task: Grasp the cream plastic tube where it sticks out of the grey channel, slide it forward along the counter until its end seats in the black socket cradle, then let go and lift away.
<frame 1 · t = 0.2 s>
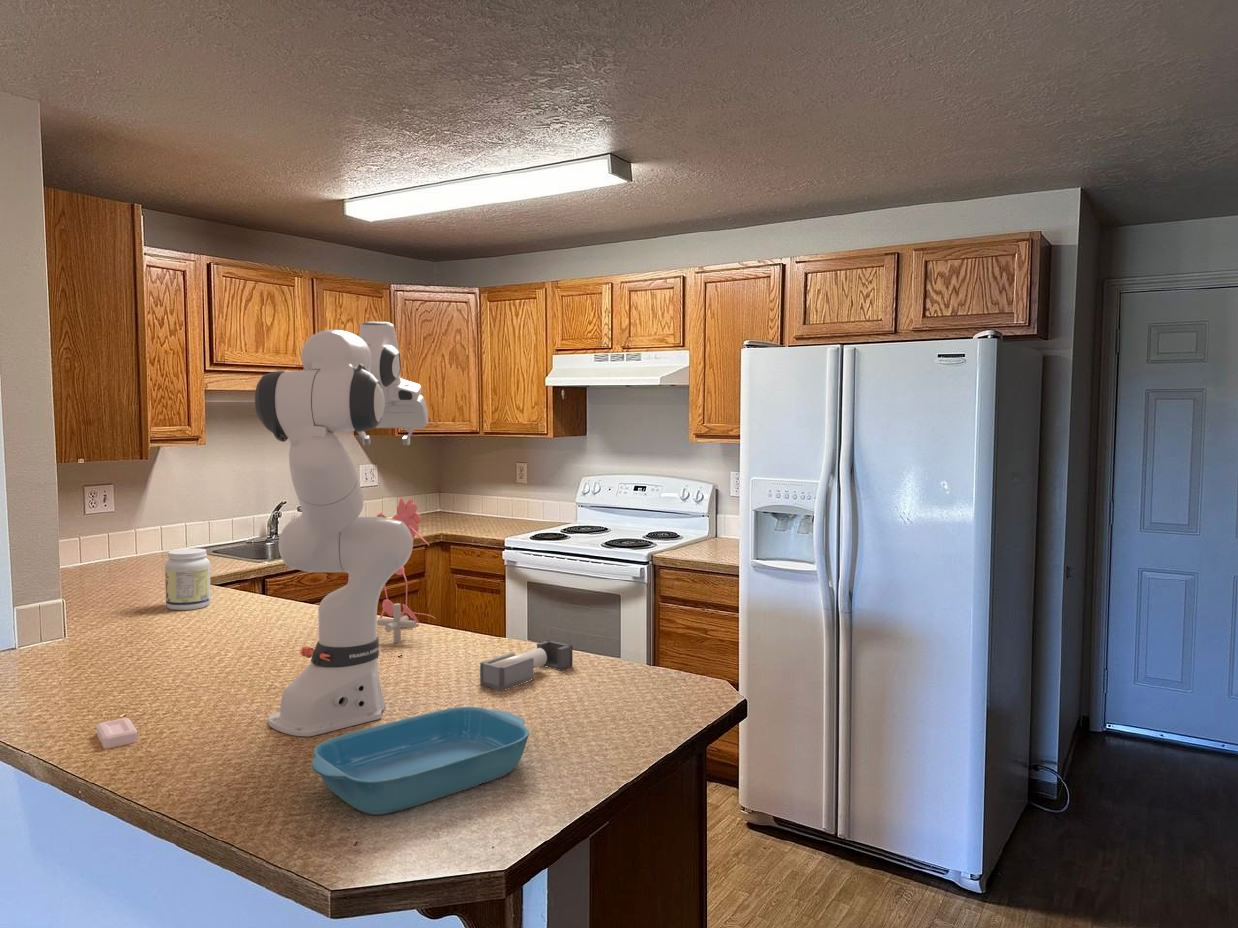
hand: (386, 444, 209), 52 cm above the counter, tool tilted 20°, fingers open, 8 cm apart
socket: (554, 665, 206), on the counter
pipe connector: (397, 643, 225), on the counter
soap bar: (117, 740, 160), on the counter
slip tube: (518, 664, 196), point 3 cm above the counter, slide at 0.0 cm
figurine: (408, 620, 248), on the counter
casserole dish: (425, 780, 144), on the counter
sleeve: (507, 682, 193), on the counter
supplement tub: (188, 606, 263), on the counter
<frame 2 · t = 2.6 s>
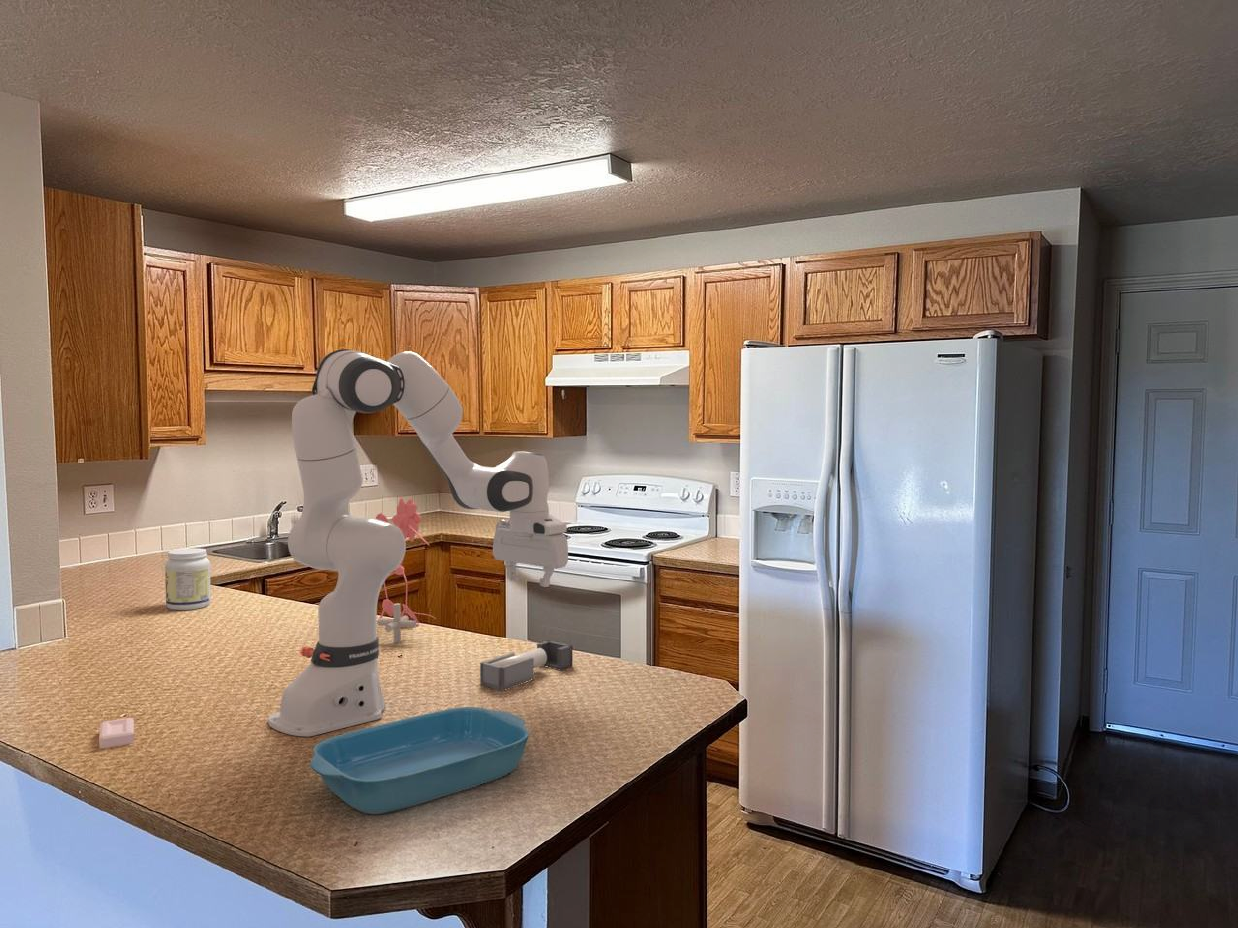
hand: (529, 583, 198), 21 cm above the counter, tool pointing down, fingers open, 8 cm apart
nothing on the counter moved.
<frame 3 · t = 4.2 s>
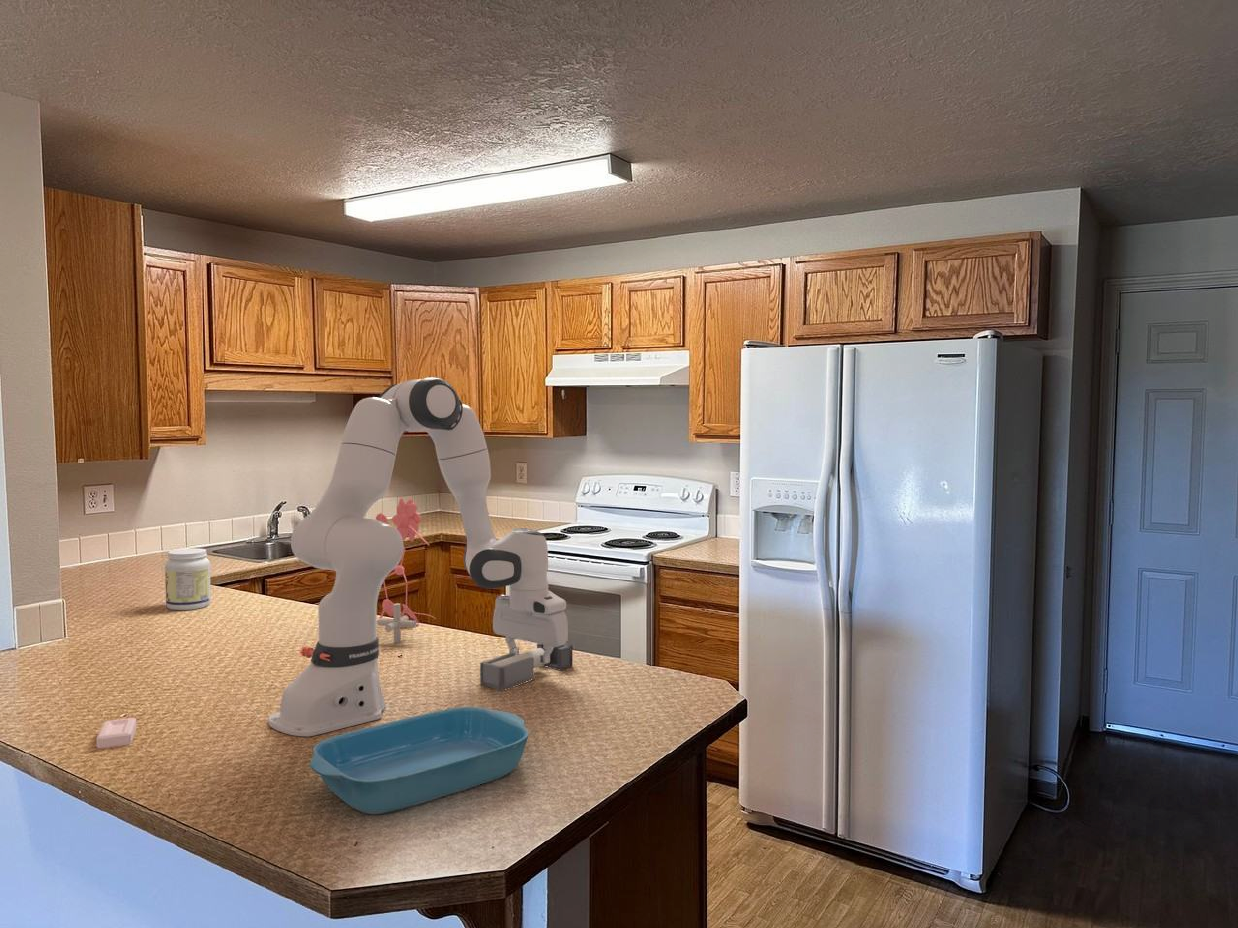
hand: (529, 658, 199), 3 cm above the counter, tool pointing down, fingers open, 8 cm apart
nothing on the counter moved.
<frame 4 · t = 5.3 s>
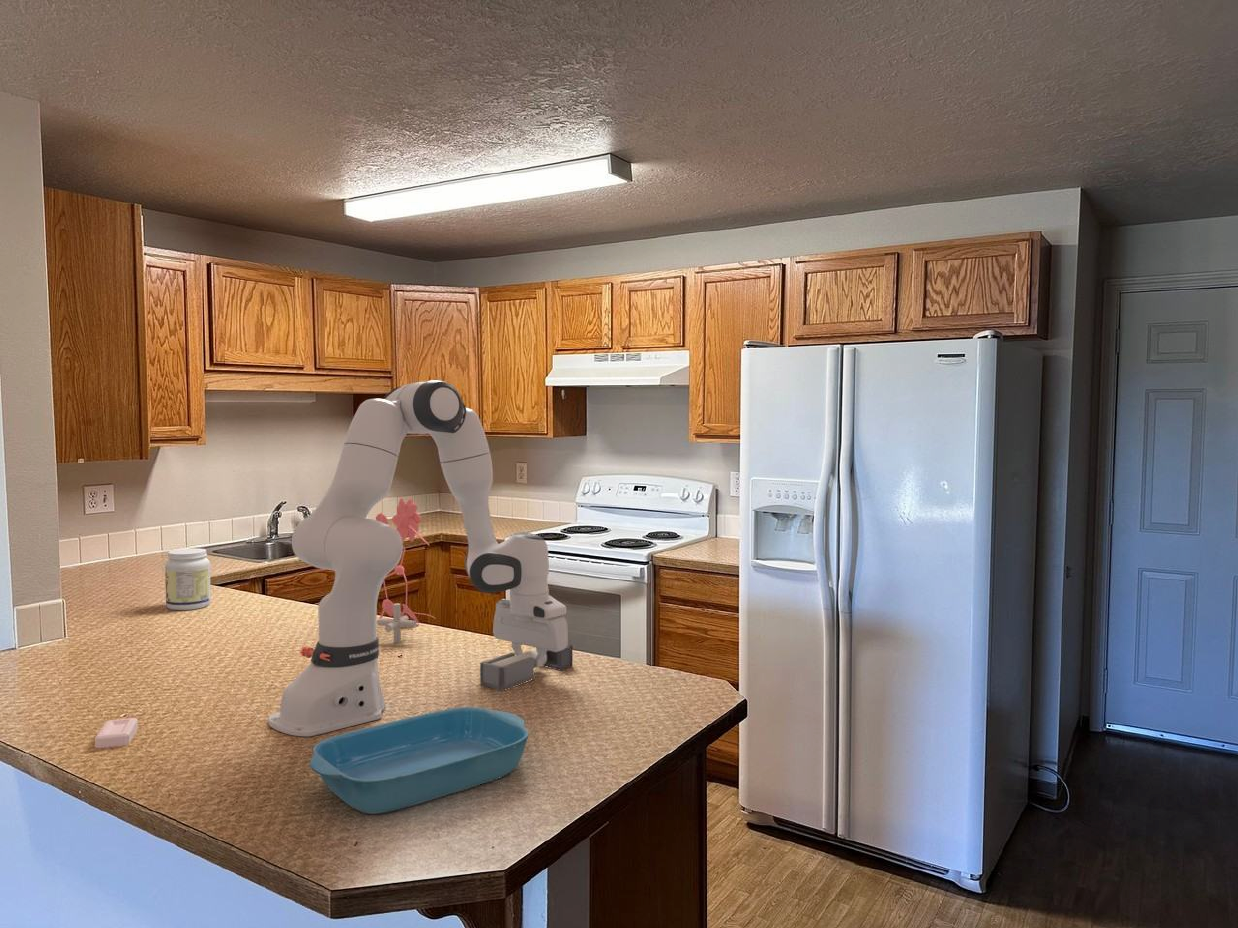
hand: (529, 663, 199), 2 cm above the counter, tool pointing down, fingers closed on slip tube, 4 cm apart
slip tube: (518, 664, 196), point 3 cm above the counter, slide at 0.0 cm, touching gripper
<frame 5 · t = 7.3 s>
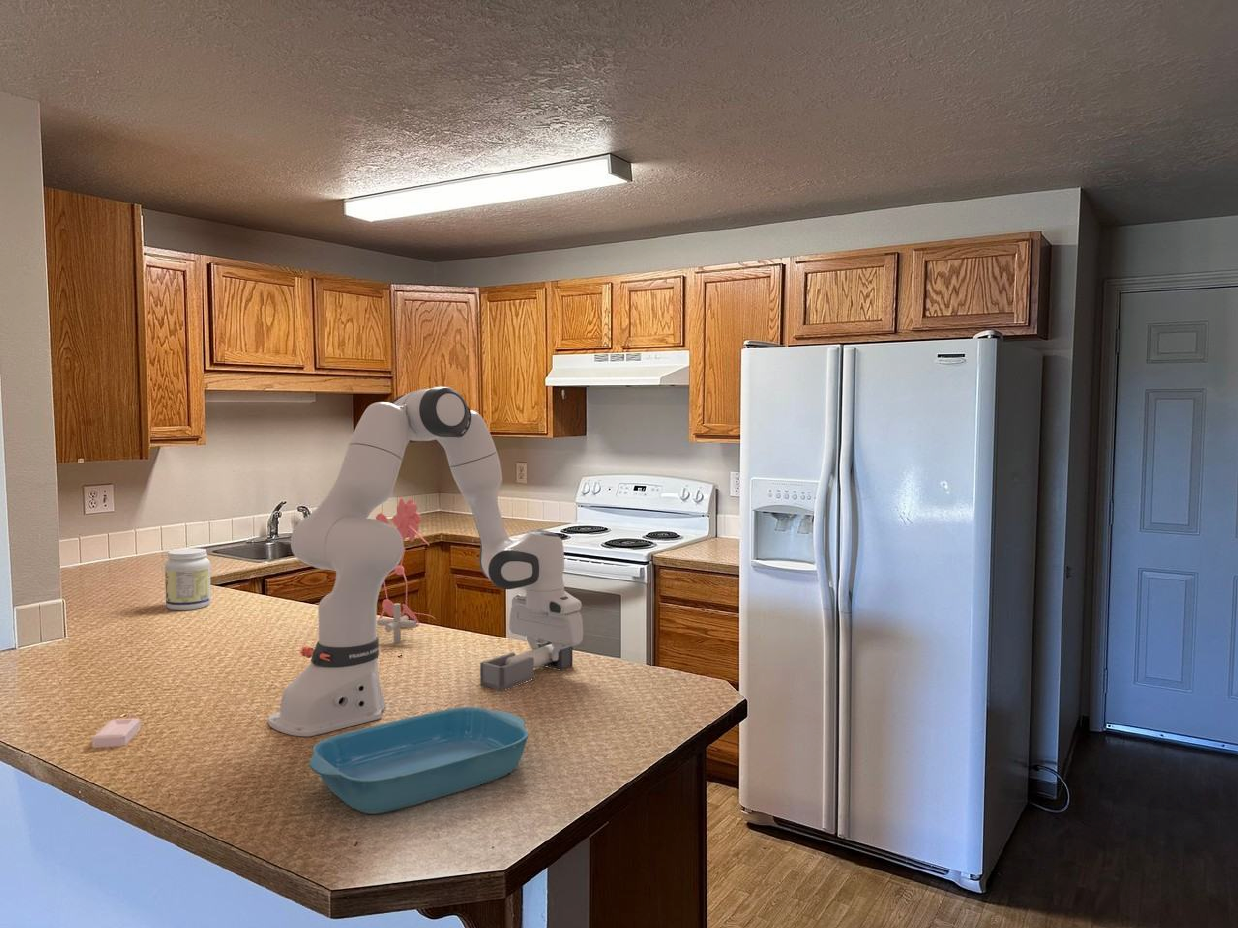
hand: (545, 658, 203), 3 cm above the counter, tool pointing down, fingers closed on slip tube, 4 cm apart
slip tube: (534, 658, 200), point 3 cm above the counter, slide at 5.4 cm, touching gripper
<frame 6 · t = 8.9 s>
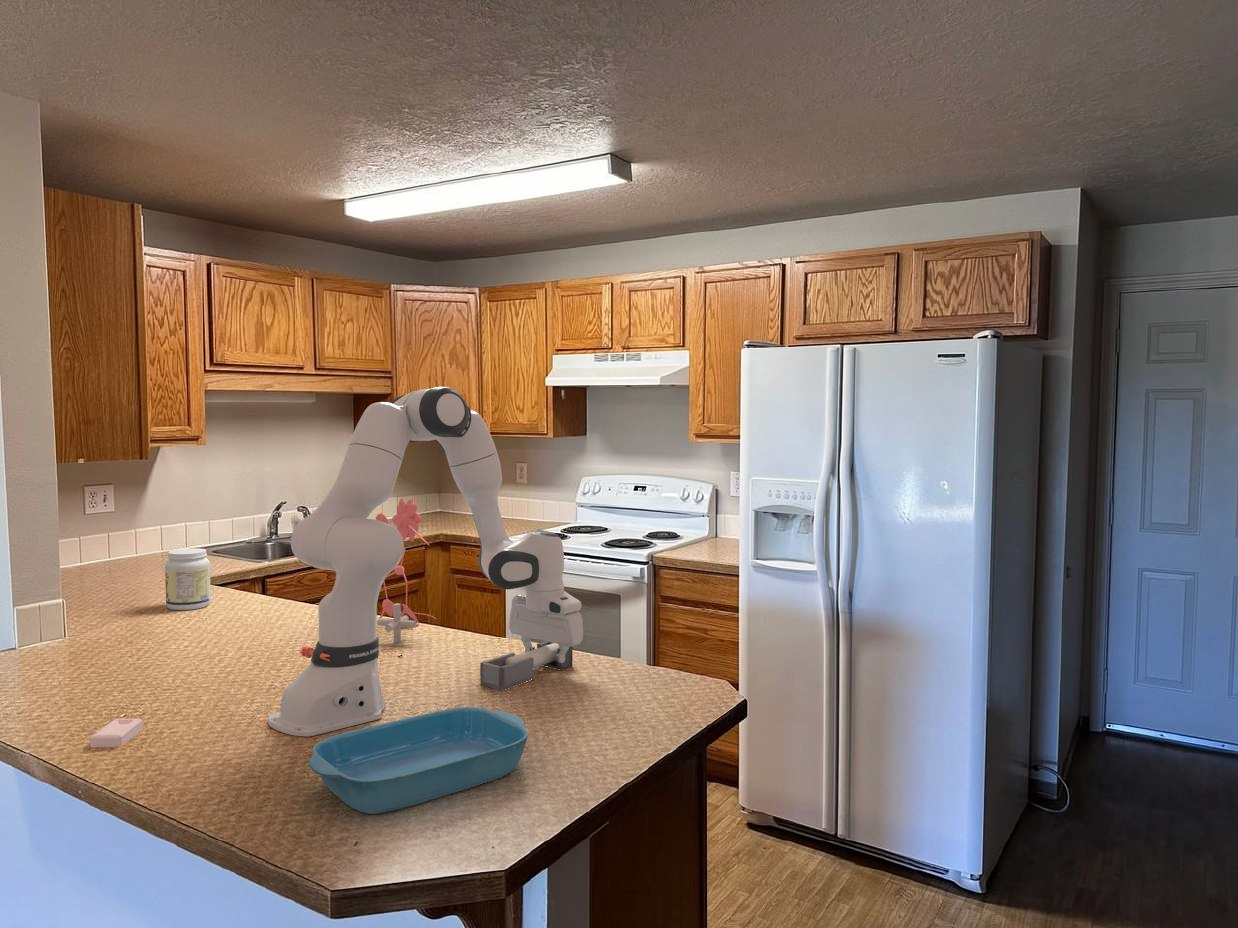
hand: (544, 658, 203), 3 cm above the counter, tool pointing down, fingers open, 8 cm apart
slip tube: (534, 658, 200), point 3 cm above the counter, slide at 5.4 cm
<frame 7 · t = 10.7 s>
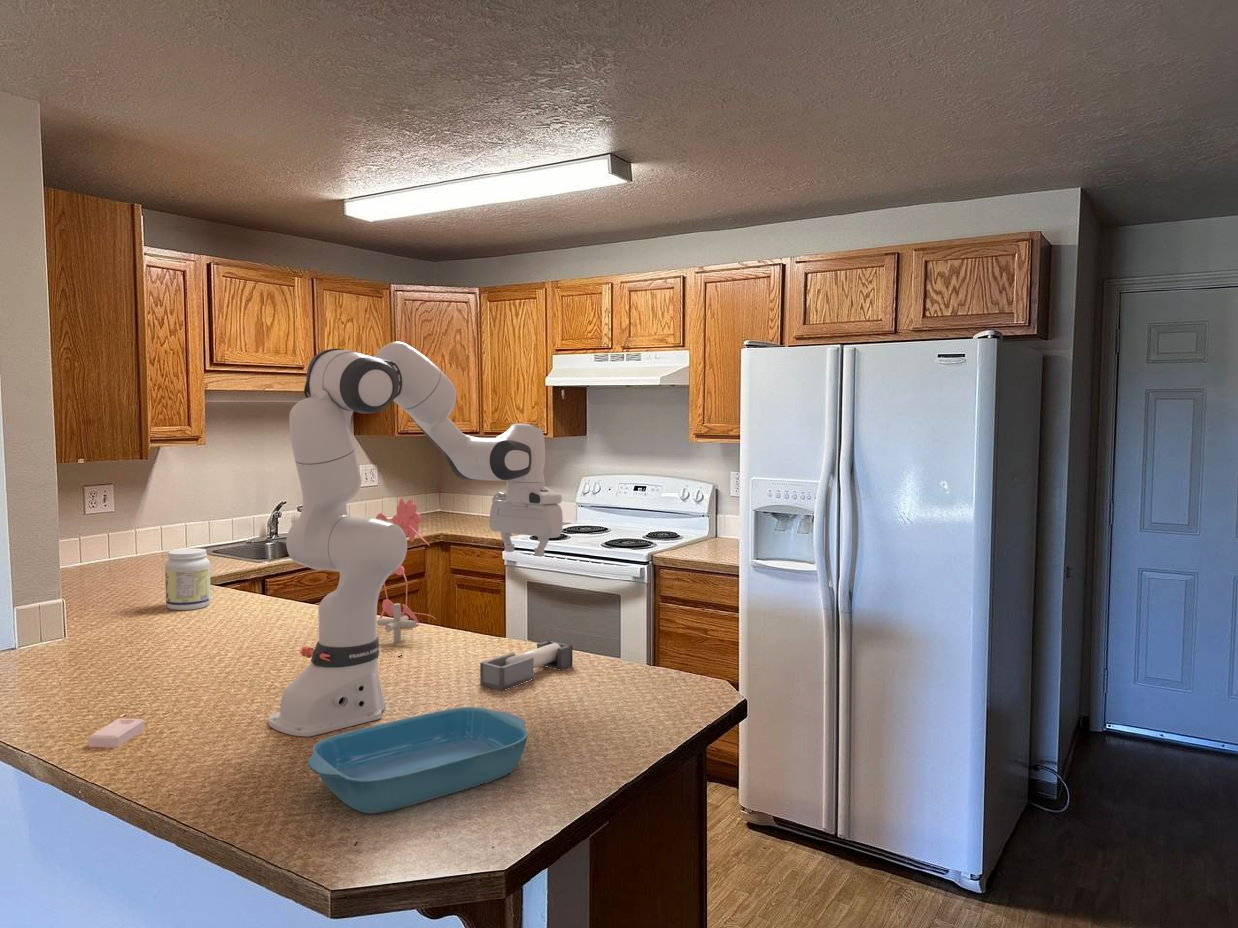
hand: (524, 553, 201), 27 cm above the counter, tool pointing down, fingers open, 8 cm apart
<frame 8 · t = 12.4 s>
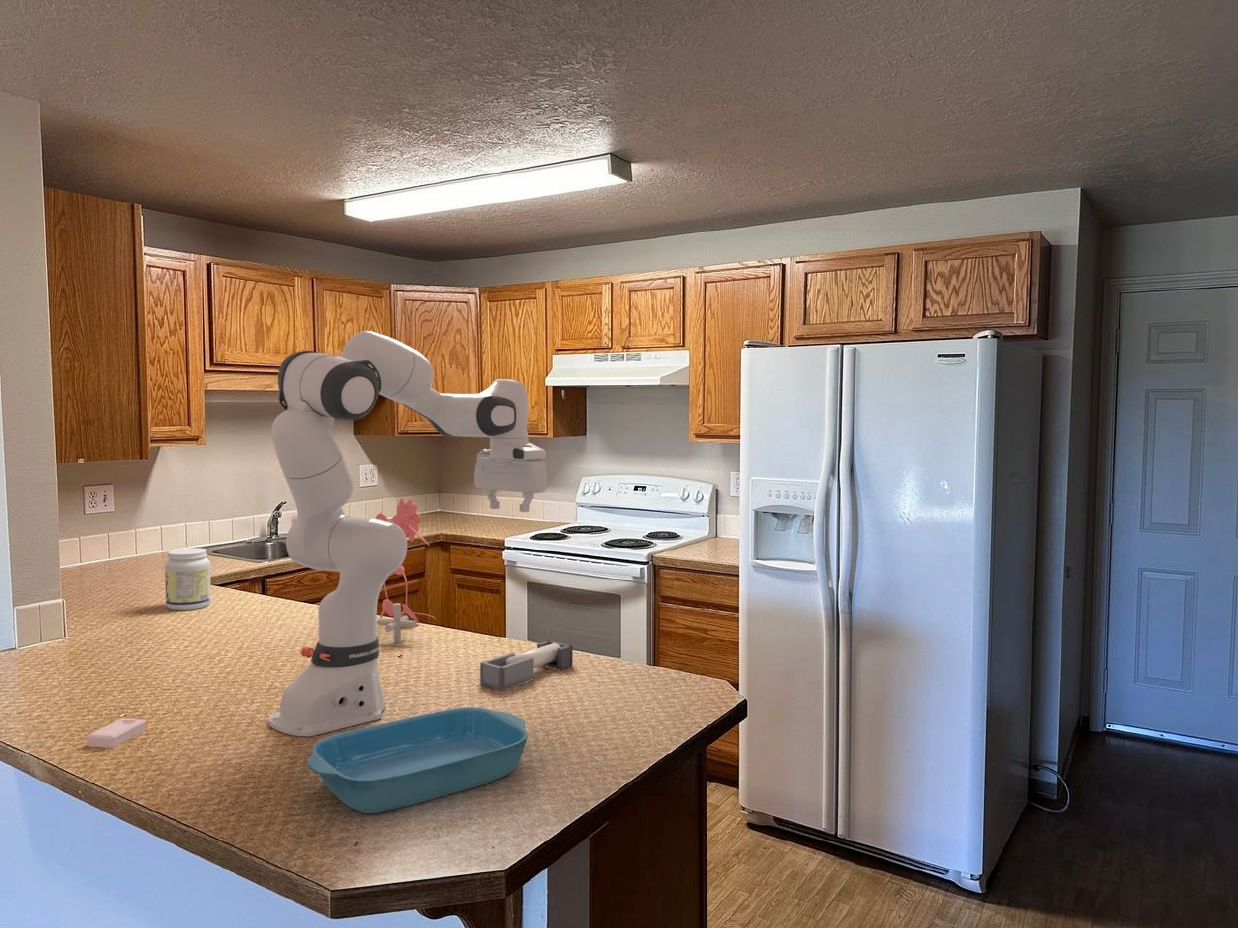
hand: (509, 510, 201), 37 cm above the counter, tool pointing down, fingers open, 8 cm apart
at the end: slip tube slide at 5.4 cm; the gripper is holding nothing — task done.
